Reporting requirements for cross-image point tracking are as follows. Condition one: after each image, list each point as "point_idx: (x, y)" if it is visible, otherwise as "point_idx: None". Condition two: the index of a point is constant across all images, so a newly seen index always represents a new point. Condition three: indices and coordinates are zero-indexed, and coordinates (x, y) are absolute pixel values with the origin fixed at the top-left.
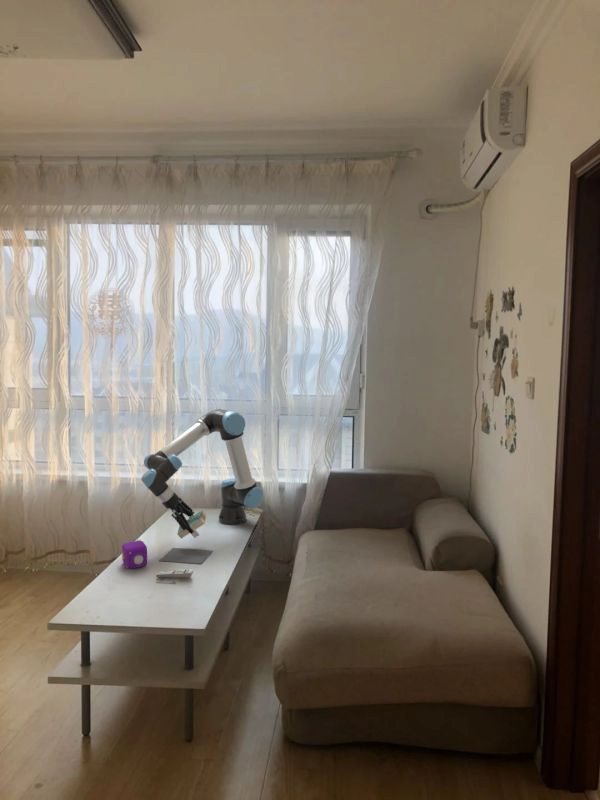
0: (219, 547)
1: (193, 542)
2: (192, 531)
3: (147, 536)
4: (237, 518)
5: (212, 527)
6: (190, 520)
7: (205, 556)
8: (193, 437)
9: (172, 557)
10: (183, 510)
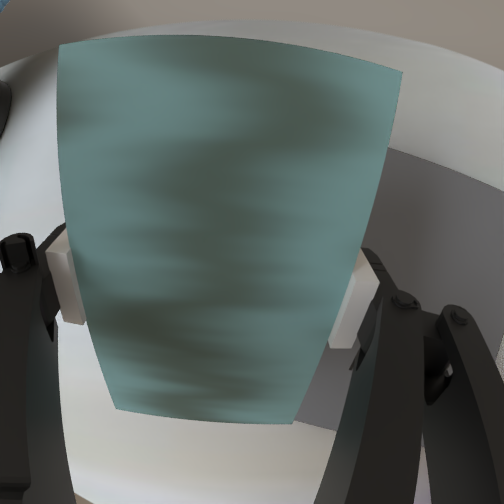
0: None
1: None
2: (377, 257)
3: (82, 493)
4: None
5: (3, 194)
6: (161, 297)
7: (444, 178)
8: None
9: None
10: (50, 472)
